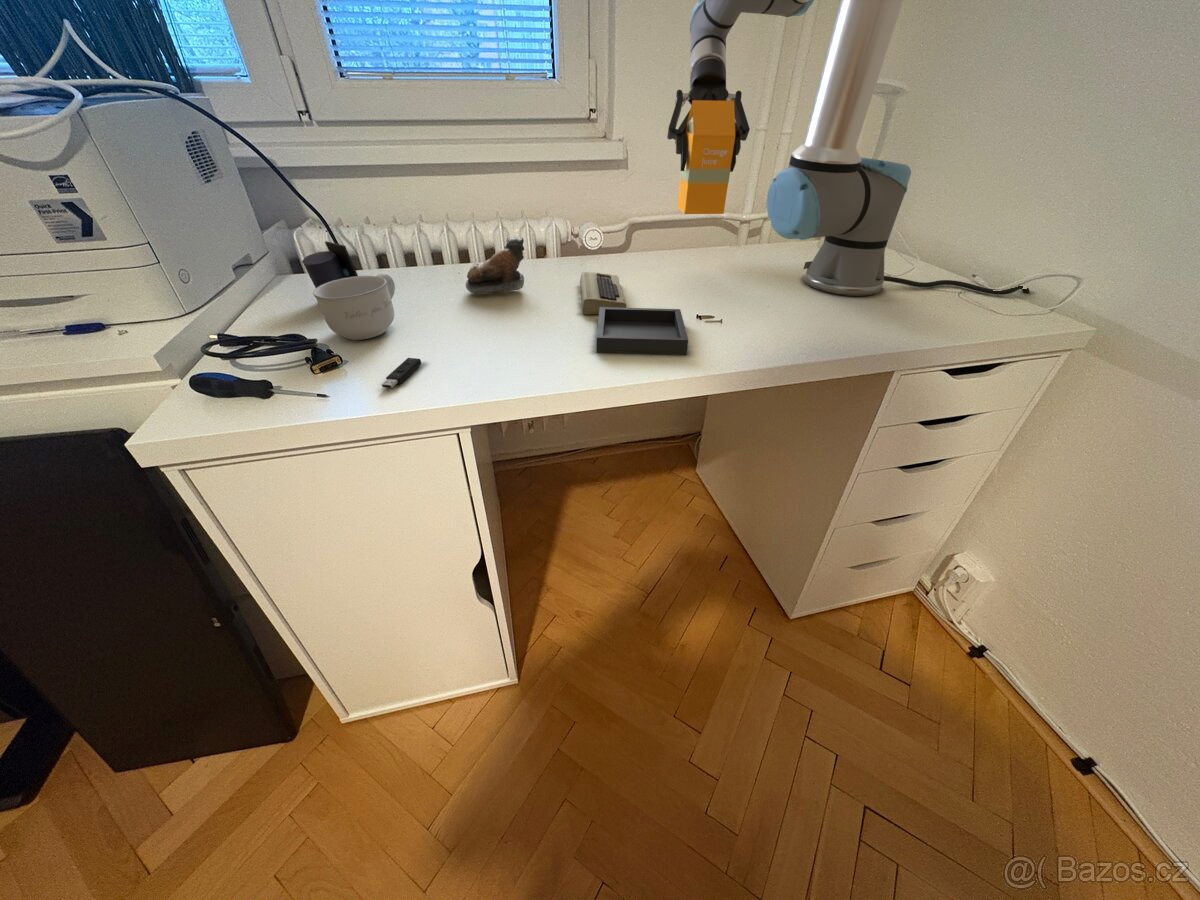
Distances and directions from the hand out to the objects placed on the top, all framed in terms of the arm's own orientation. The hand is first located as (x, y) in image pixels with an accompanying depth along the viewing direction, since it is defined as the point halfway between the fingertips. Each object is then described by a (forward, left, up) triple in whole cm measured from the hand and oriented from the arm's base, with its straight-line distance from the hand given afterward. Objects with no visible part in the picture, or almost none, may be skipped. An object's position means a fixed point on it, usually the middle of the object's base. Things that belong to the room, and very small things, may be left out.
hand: (707, 166), depth 100 cm
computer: (+21, +24, -20) cm, 38 cm away
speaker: (+70, +29, -20) cm, 78 cm away
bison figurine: (+42, +21, -20) cm, 51 cm away
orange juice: (0, -3, -9) cm, 10 cm away
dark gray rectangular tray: (+14, +41, -20) cm, 48 cm away
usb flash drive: (+48, +57, -20) cm, 77 cm away
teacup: (+59, +41, -20) cm, 75 cm away
